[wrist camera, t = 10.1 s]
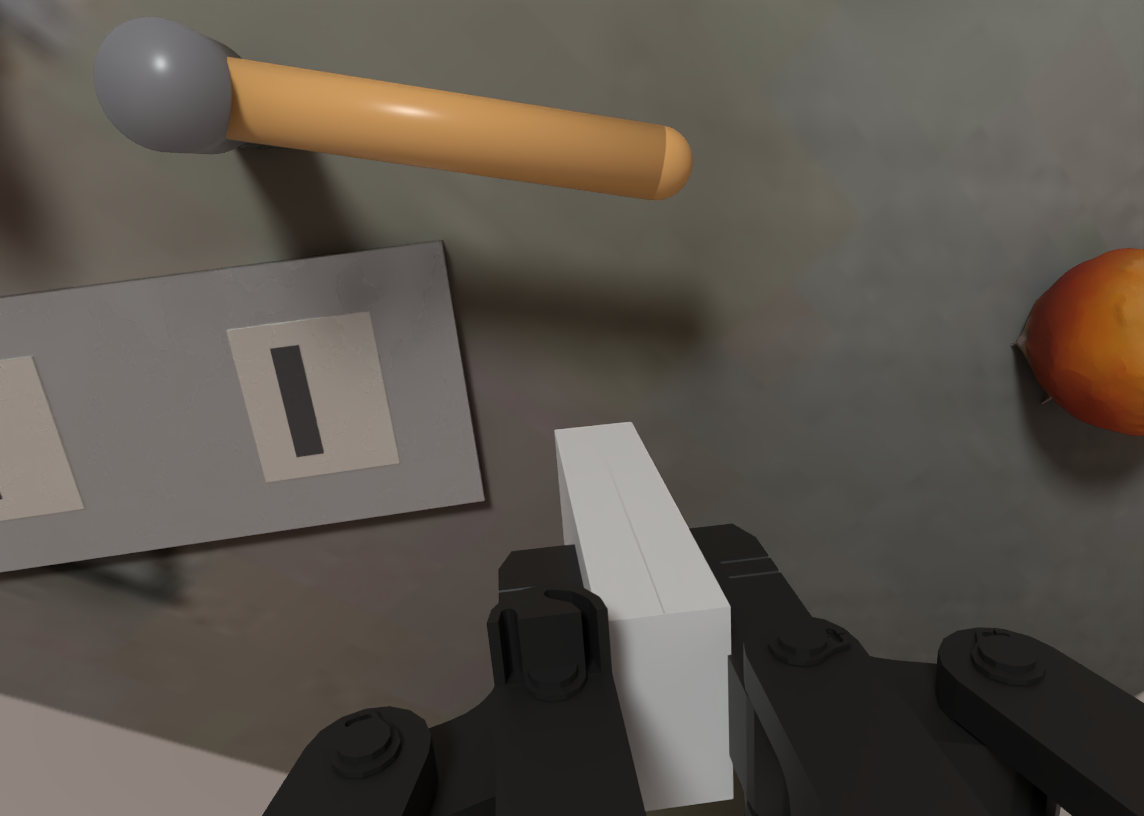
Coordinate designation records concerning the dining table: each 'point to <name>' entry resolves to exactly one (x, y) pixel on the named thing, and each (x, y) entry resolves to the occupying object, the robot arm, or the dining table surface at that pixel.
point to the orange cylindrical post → (367, 118)
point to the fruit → (1093, 341)
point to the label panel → (230, 404)
